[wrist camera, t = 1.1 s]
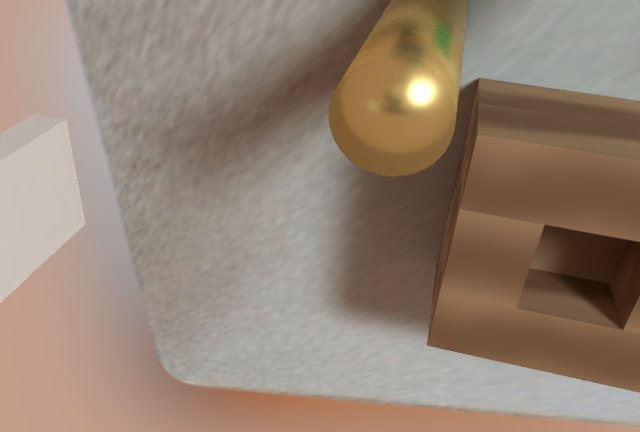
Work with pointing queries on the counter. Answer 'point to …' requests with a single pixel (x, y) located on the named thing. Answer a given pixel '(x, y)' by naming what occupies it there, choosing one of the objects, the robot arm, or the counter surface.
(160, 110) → the counter surface
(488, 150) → the bore block
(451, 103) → the brass pin
